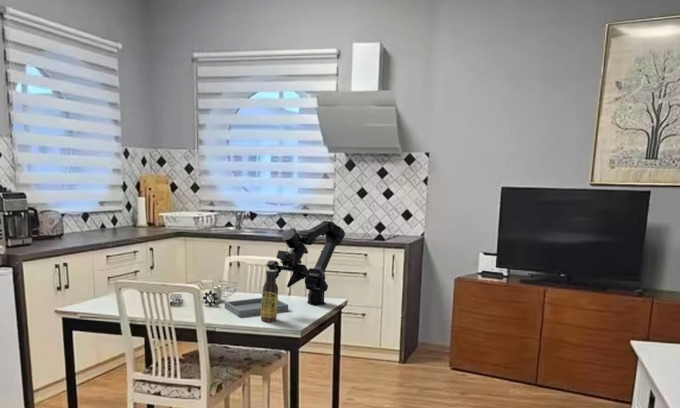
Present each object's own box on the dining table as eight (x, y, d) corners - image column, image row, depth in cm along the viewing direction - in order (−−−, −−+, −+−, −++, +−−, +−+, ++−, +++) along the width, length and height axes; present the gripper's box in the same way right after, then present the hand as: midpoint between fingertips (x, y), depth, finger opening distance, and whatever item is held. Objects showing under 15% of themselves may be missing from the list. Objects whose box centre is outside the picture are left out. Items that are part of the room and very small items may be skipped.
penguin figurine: (163, 284, 219) (172, 281, 231) (162, 304, 219) (171, 300, 231) (177, 285, 219) (186, 282, 231) (176, 304, 219) (185, 300, 231)
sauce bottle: (258, 321, 196) (259, 271, 195) (263, 317, 202) (264, 268, 202) (274, 322, 195) (275, 272, 194) (279, 318, 201) (280, 269, 200)
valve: (212, 299, 231) (202, 305, 219) (212, 285, 231) (202, 290, 219) (226, 300, 231) (217, 306, 219) (226, 285, 231) (217, 291, 219)
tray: (271, 302, 228) (271, 296, 228) (288, 310, 214) (288, 304, 214) (224, 307, 216) (224, 301, 216) (238, 317, 202) (238, 310, 202)
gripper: (269, 241, 212) (251, 270, 203) (306, 245, 202) (288, 276, 193) (280, 257, 219) (263, 287, 210) (316, 262, 209) (300, 293, 200)
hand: (278, 285), depth 203 cm, fingers open, 9 cm apart
